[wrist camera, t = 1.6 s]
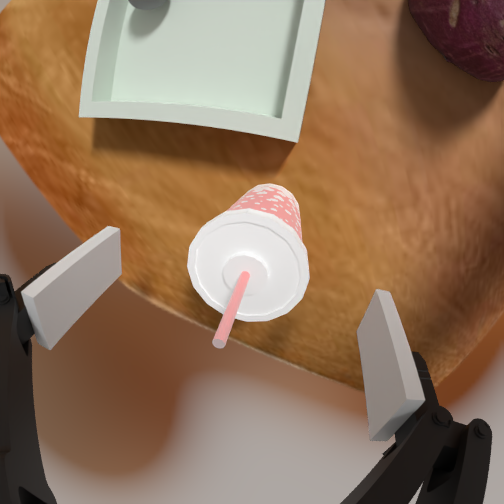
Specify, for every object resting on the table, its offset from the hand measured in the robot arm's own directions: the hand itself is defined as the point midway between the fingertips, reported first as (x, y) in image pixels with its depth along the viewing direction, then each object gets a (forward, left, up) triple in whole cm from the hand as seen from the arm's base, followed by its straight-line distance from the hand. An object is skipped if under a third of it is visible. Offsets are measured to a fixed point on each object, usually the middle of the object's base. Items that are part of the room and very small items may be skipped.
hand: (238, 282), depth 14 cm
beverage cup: (0, 0, -10) cm, 10 cm away
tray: (+7, -13, -10) cm, 18 cm away
